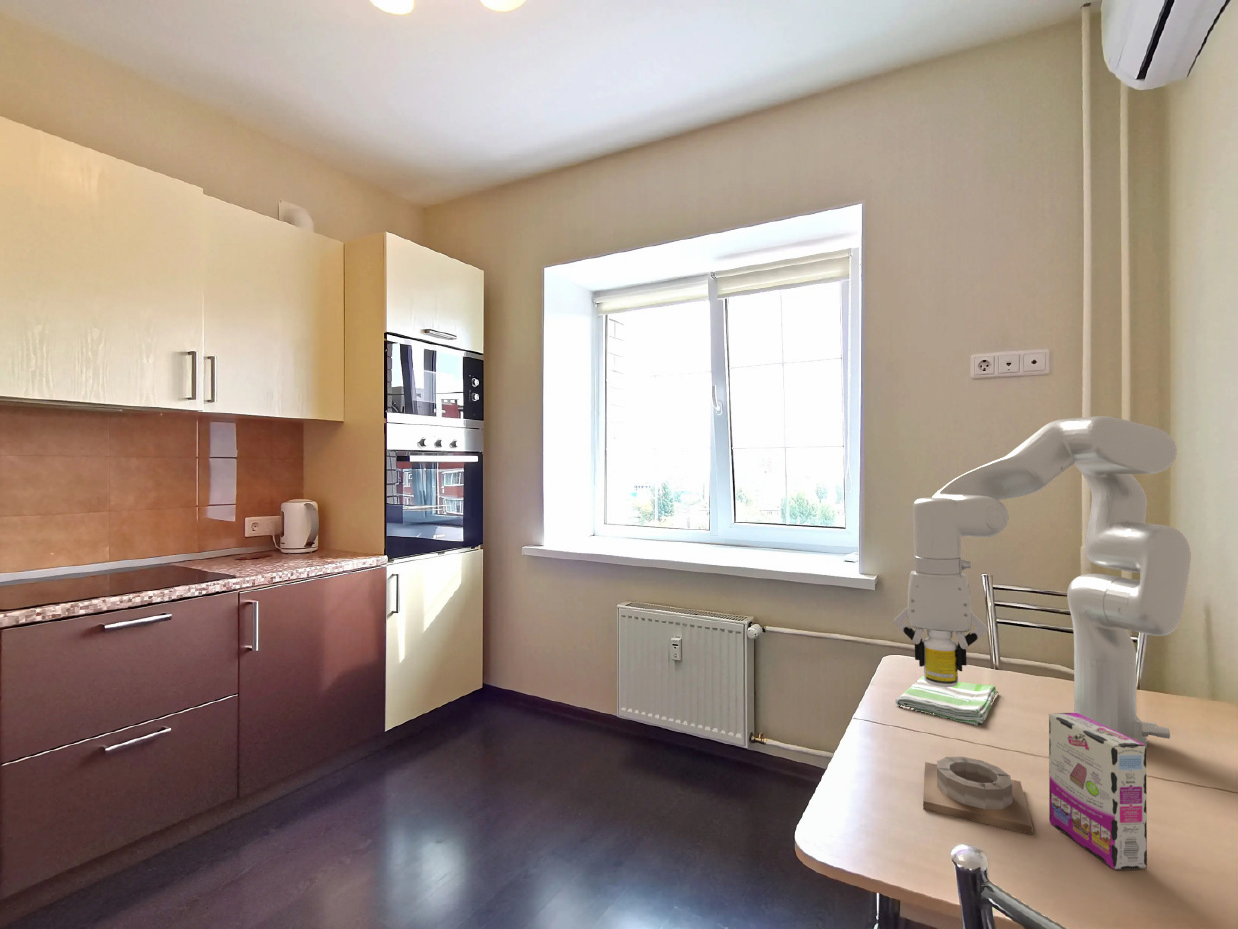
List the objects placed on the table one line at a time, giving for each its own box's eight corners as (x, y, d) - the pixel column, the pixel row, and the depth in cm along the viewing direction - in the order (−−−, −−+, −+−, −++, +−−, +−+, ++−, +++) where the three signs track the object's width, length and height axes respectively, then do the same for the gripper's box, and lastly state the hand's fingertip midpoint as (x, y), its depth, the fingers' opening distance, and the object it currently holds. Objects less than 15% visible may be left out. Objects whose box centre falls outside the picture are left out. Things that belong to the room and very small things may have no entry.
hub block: (1020, 788, 99) (1020, 763, 99) (1032, 834, 86) (1032, 805, 86) (925, 768, 105) (925, 744, 105) (923, 808, 93) (923, 781, 93)
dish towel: (893, 708, 133) (893, 692, 133) (919, 680, 151) (919, 666, 151) (982, 730, 122) (982, 712, 122) (1000, 697, 140) (1000, 681, 140)
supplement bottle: (962, 689, 105) (961, 633, 105) (929, 687, 106) (927, 632, 106) (952, 678, 110) (950, 624, 110) (920, 676, 111) (918, 624, 111)
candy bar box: (1150, 870, 79) (1149, 744, 79) (1115, 872, 78) (1114, 746, 79) (1078, 820, 90) (1077, 710, 90) (1047, 822, 90) (1046, 711, 90)
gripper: (991, 565, 107) (994, 666, 107) (887, 560, 116) (889, 654, 116) (995, 572, 101) (998, 680, 101) (884, 567, 109) (887, 667, 109)
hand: (940, 665), depth 108 cm, fingers closed on supplement bottle, 5 cm apart
